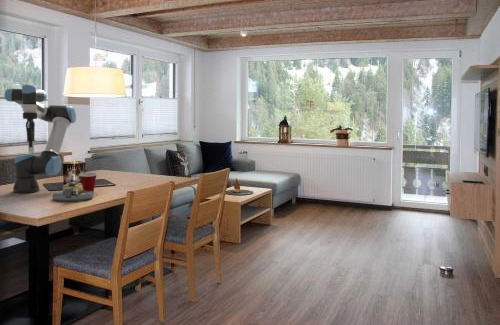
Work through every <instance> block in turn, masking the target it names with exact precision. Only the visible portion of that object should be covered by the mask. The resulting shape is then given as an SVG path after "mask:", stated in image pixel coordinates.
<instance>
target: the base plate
mask: <svg viewBox="0 0 500 325" xmlns="http://www.w3.org/2000/svg"><path fill="white" fill-rule="evenodd" d="M93 198H94V191H93V192H92V191H88V190H83V193H81V194H78V190H75V194H73V195H72V196H65V194H63V190H61V191H57V192H54V193H52V200H53V201H54V202H58V203H75V202H76V203H77V202H85V201H90V200H92V199H93Z"/></svg>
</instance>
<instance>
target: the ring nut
mask: <svg viewBox="0 0 500 325" xmlns="http://www.w3.org/2000/svg"><path fill="white" fill-rule="evenodd" d="M75 190H78V194H81V193H83V185H82V182H79V183H77V181H70V182H68V183H66V184H64V185H63V186H62V191H63V194H65V196H72V195H73V194H75Z"/></svg>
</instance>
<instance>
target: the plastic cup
mask: <svg viewBox="0 0 500 325" xmlns="http://www.w3.org/2000/svg"><path fill="white" fill-rule="evenodd" d="M78 175H79V177H80V181H81V182H80V183H82V185H83V190H88V191H92V192H93V193H94V191H95V185H96V178H97V176H98V173H97V172H91V171H89V172H88V171H87V172H86V171H85V172H81V173H79V174H78Z"/></svg>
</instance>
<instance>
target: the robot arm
mask: <svg viewBox="0 0 500 325" xmlns="http://www.w3.org/2000/svg"><path fill="white" fill-rule="evenodd" d="M47 96H48V95H47V93H46V91H45V90H44V89H39V88H37V87H36V85H35V84H23V85H22V86H21V88H7V89H5V91H4V99H5V101H7V102H11V103H12V102H15V103H16V104H18V105H19V106H20V107H21V109H22V118H23V120H26V122H25V128H26V129H25V130H26V142H27V144H28V145H27V147H28V154H21V155H16V156H15V158H14V171H15V172H14V173H15V181H14V183H13V187H12V192H13V193H15V194H30V193H36V192H39V191H40V190H41V189H40V185H39V182H38V180H37V176H56V175H58V174H59V173H60V171H61V169H62V165H63V164H62V163H63V161H62V158H61V156H60V151H61V148H62V145H63V142H64V139H65V135H66V132H67V130H68V128H70V127H71V125H72V124H74V123H76V120H77V115H76V110H75V107H74V106H72V105H68V104H66V105H57V104H56V105H52V104H51V105H49V104H44V103H42V102H44V101H46V100H47V98H48V97H47ZM37 119H40V120H42V121H44V122H47V123H52V124H53V125H52V128H51V131H50V133H49V137H48V140H47V143H46V145H45V149H44V150H42V151H41V152H40V155H39V156H37V154H35V142H36V139H35V125H36V123H35V121H34V120H37Z"/></svg>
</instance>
